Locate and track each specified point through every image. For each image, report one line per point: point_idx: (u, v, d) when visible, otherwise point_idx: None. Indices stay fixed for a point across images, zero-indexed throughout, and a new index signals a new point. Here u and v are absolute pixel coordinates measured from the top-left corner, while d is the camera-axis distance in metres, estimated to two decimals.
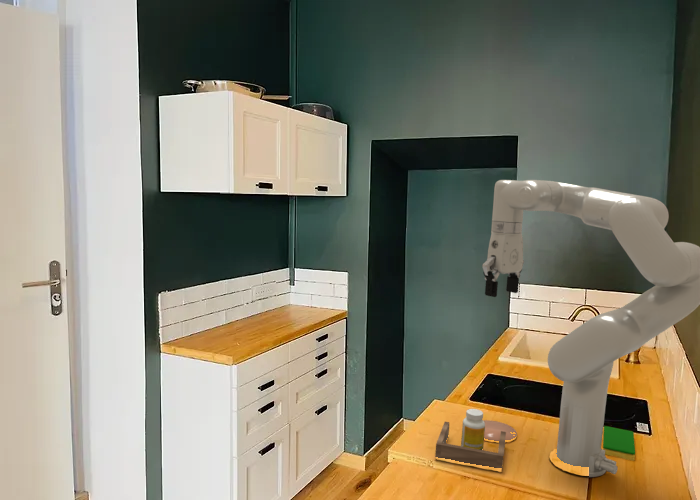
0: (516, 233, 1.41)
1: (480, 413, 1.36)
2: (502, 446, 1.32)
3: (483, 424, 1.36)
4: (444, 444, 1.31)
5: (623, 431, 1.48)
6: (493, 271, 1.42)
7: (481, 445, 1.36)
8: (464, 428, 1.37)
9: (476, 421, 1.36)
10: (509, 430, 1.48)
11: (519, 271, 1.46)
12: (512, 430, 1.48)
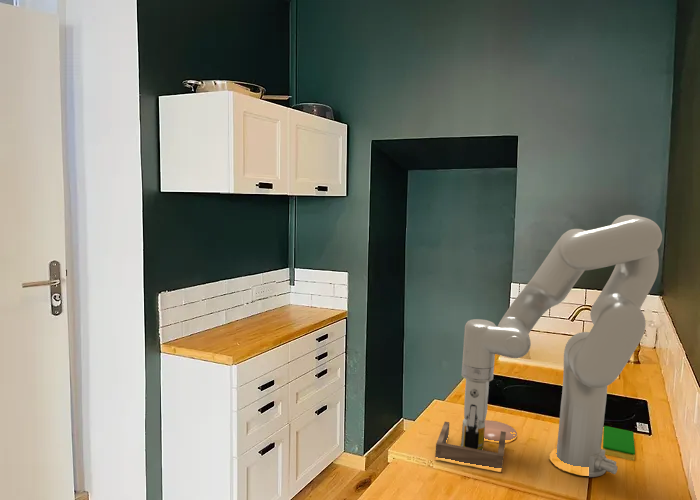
0: (492, 378, 1.34)
1: None
2: (502, 446, 1.32)
3: (483, 424, 1.36)
4: (444, 444, 1.31)
5: (623, 431, 1.48)
6: None
7: (481, 445, 1.36)
8: (464, 428, 1.37)
9: None
10: (509, 430, 1.48)
11: None
12: (512, 430, 1.48)
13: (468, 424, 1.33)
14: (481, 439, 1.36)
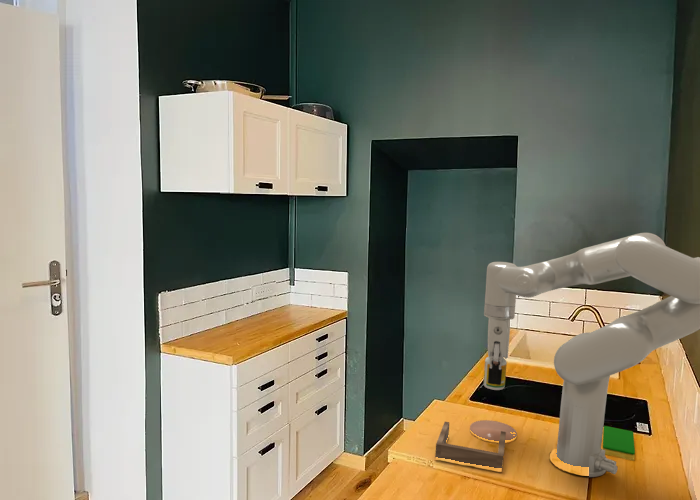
0: (513, 316, 1.40)
1: None
2: (502, 446, 1.32)
3: (505, 361, 1.42)
4: (444, 444, 1.31)
5: (623, 431, 1.48)
6: None
7: (503, 382, 1.43)
8: (487, 366, 1.43)
9: (498, 359, 1.42)
10: (509, 430, 1.48)
11: None
12: (512, 430, 1.48)
13: (492, 360, 1.39)
14: (503, 376, 1.42)
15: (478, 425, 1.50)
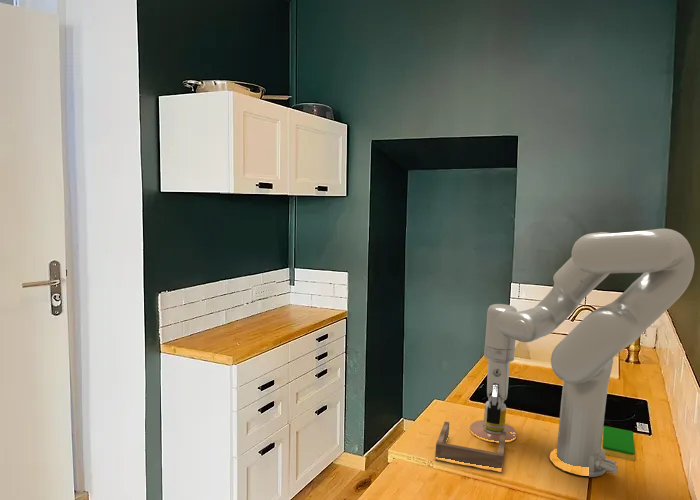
0: (513, 358, 1.43)
1: None
2: (502, 446, 1.32)
3: (504, 406, 1.45)
4: (444, 444, 1.31)
5: (623, 431, 1.48)
6: None
7: (502, 426, 1.45)
8: None
9: None
10: (509, 430, 1.48)
11: None
12: (512, 430, 1.48)
13: (491, 400, 1.40)
14: (503, 421, 1.45)
15: (478, 425, 1.50)
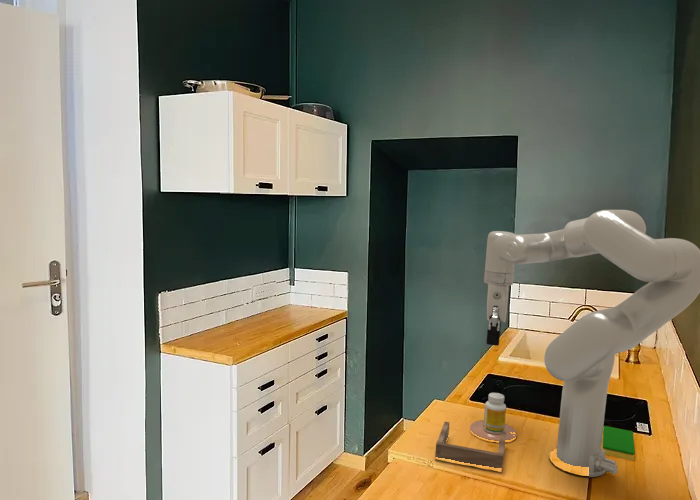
0: (512, 282, 1.48)
1: (501, 396, 1.46)
2: (502, 446, 1.32)
3: (504, 406, 1.45)
4: (444, 444, 1.31)
5: (623, 431, 1.48)
6: None
7: (502, 426, 1.45)
8: (486, 410, 1.46)
9: (498, 404, 1.45)
10: (509, 430, 1.48)
11: None
12: (512, 430, 1.48)
13: (491, 322, 1.45)
14: (503, 421, 1.45)
15: (478, 425, 1.50)
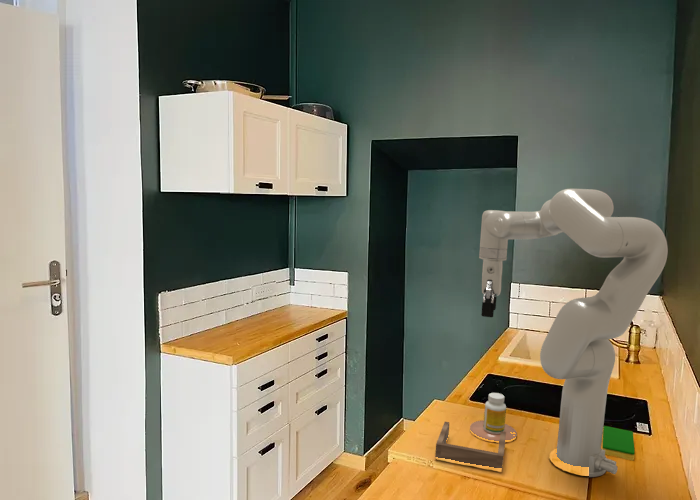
0: (505, 258, 1.57)
1: (501, 397, 1.45)
2: (502, 446, 1.32)
3: (504, 407, 1.45)
4: (444, 444, 1.31)
5: (623, 431, 1.48)
6: None
7: (502, 426, 1.45)
8: (486, 410, 1.46)
9: (498, 404, 1.45)
10: (509, 430, 1.48)
11: None
12: (512, 430, 1.48)
13: (485, 294, 1.54)
14: (502, 421, 1.45)
15: (478, 425, 1.50)
